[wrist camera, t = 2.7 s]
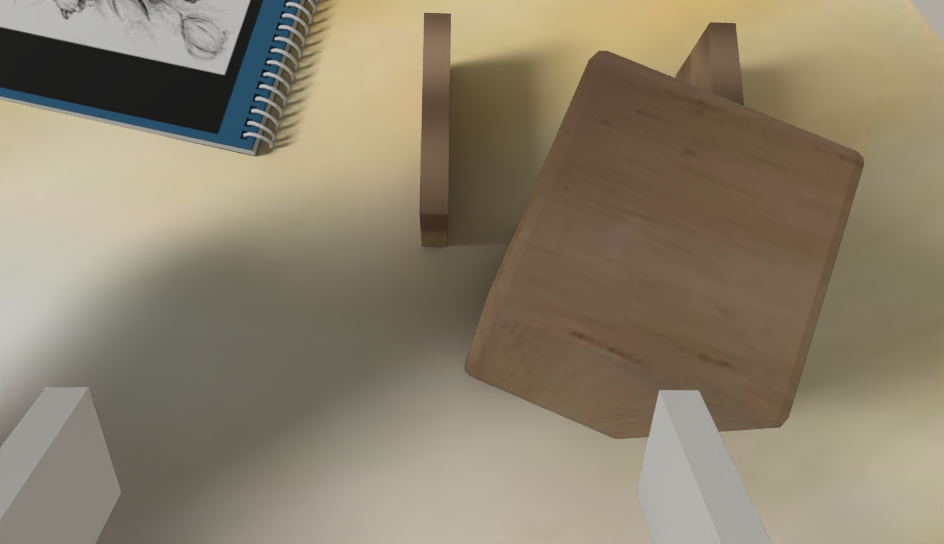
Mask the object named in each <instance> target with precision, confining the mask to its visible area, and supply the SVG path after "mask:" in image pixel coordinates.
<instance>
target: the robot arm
mask: <svg viewBox="0 0 944 544" xmlns="http://www.w3.org/2000/svg"><path fill="white" fill-rule="evenodd" d="M120 495H121V490H120V487H119V483H118V480H117V477H116V474H115V471H114V467H113V464H112V461H111V458H110V454H109V451H108V448H107V445H106V441H105V438H104V435H103V432H102V429H101V425H100V422H99V419H98V416H97V412H96V409H95V406H94V403H93V400H92V396H91V393H90V390H89V387H45V388H44V390H43V391H42V392H41V394H40V395H39V396H38V398H37V399H36V400H35V402H34V403H33V404H32V406H31V407H30V408H29V410H28V411H27V412H26V414H25V415H24V416H23V418H22V419H21V420H20V422H19V423H18V424H17V426H16V427H15V428H14V430H13V431H12V432H11V434H10V435H9V436H8V438H7V439H6V440H5V442H4V443H3V444H2V446H1V447H0V544H96V542H97V540H98V538H99V536H100V534H101V532H102V530H103V528H104V526H105V524H106V522H107V520H108V518H109V516H110V514H111V512H112V510H113V508H114V506H115V504H116V502H117V501H118V499H119V497H120ZM637 495H638V498H639V501H640V505H641V508H642V511H643V514H644V518H645V521H646V524H647V528H648V531H649V534H650V537H651V541H652V544H772V543H771V540H770V538H769V536H768V534H767V532H766V530H765V528H764V526H763V524H762V522H761V520H760V517H759V515H758V513H757V511H756V509H755V507H754V505H753V503H752V501H751V499H750V497H749V494H748V492H747V490H746V488H745V486H744V484H743V482H742V480H741V478H740V476H739V474H738V471H737V469H736V467H735V465H734V463H733V461H732V459H731V457H730V455H729V453H728V450H727V448H726V446H725V444H724V442H723V440H722V438H721V436H720V434H719V432H718V430H717V427H716V425H715V423H714V421H713V419H712V417H711V415H710V413H709V411H708V409H707V407H706V404H705V402H704V400H703V398H702V396H701V394H700V392H699V390H659V393H658V398H657V402H656V407H655V411H654V416H653V420H652V425H651V429H650V434H649V438H648V443H647V447H646V452H645V456H644V461H643V465H642V470H641V474H640V479H639V483H638V488H637Z"/></svg>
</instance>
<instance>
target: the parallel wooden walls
mask: <svg viewBox="0 0 944 544" xmlns="http://www.w3.org/2000/svg"><path fill="white" fill-rule="evenodd" d="M450 33H451V14H443V13H424V47H423V91H422V134H421V177H420V226H421V242H422V246H446V245H447V227H448V193H449V113H450ZM676 79H678V80H681V81H683V82H686V83H688V84H691V85H693V86H695V87H698V88H700V89H703V90H705V91H708V92H710V93H713V94H715V95H718V96H720V97H723V98H725V99H728V100H730V101H733V102H735V103H738V104H740V105H743V106H744V103H743V93H742V83H741V73H740V63H739V53H738V44H737V34H736V24H735V23H709V25H708V26H707V28H706V30H705V31H704V33H703V34H702V36H701V37H700V39H699V40H698V42H697V44H696V45H695V47H694V48H693V50H692V51H691V53H690V55H689V56H688V58H687V59H686V61H685V62H684V64H683V65H682V67H681V69H680V70H679V72H678V73H677V75H676Z"/></svg>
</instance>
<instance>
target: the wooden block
mask: <svg viewBox="0 0 944 544" xmlns="http://www.w3.org/2000/svg"><path fill="white" fill-rule="evenodd" d="M863 166H864V161H863V157H862V156H861V155H860V154H859V153H858V152H857V151H854V150H852V149H849V148H847V147H844V146H842V145H839V144H837V143H834V142H832V141H829V140H827V139H824V138H822V137H819V136H817V135H814V134H812V133H810V132H807V131H805V130H802V129H800V128H797V127H795V126H792V125H790V124H787V123H785V122H782V121H780V120H777V119H775V118H772V117H770V116H767V115H765V114H762V113H760V112H757V111H755V110H753V109H750V108H748V107H745V106H743V105H740V104H738V103H735V102H733V101H730V100H728V99H725V98H723V97H720V96H718V95H715V94H713V93H710V92H708V91H705V90H703V89H700V88H698V87H695V86H693V85H691V84H688V83H686V82H683V81H681V80H678V79H676V78H673V77H671V76H668V75H666V74H663V73H661V72H658V71H656V70H653V69H651V68H648V67H646V66H643V65H641V64H638V63H636V62H634V61H631V60H629V59H626V58H624V57H621V56H619V55H616V54H614V53H611V52H609V51H599V52H597V53H596V54H595V55H594V56H593V57H592V58H591V59H589V61H588V64H587V66H586V68H585V70H584V73H583V75H582V77H581V80H580V82H579V84H578V87H577V89H576V91H575V94H574V96H573V98H572V101H571V103H570V105H569V108H568V110H567V112H566V115H565V117H564V119H563V121H562V124H561V126H560V128H559V131H558V133H557V135H556V138H555V140H554V142H553V145H552V147H551V149H550V152H549V154H548V156H547V159H546V161H545V163H544V166H543V168H542V170H541V172H540V175H539V177H538V179H537V182H536V184H535V186H534V189H533V191H532V193H531V196H530V198H529V200H528V203H527V205H526V207H525V210H524V212H523V214H522V217H521V219H520V221H519V223H518V226H517V228H516V230H515V233H514V235H513V237H512V240H511V242H510V244H509V247H508V249H507V251H506V254H505V256H504V258H503V261H502V263H501V265H500V268H499V270H498V272H497V274H496V277H495V279H494V281H493V284H492V286H491V288H490V291H489V294H488V297H487V300H486V303H485V305H484V308H483V311H482V314H481V317H480V320H479V323H478V326H477V329H476V332H475V335H474V338H473V341H472V344H471V347H470V350H469V353H468V356H467V359H466V362H465V371H466V372H467V374H468V375H469V376H472V377H474V378H476V379H479V380H481V381H483V382H486V383H488V384H490V385H492V386H495V387H497V388H499V389H502V390H504V391H506V392H509V393H511V394H513V395H516V396H518V397H520V398H522V399H525V400H527V401H529V402H532V403H534V404H536V405H539V406H541V407H543V408H545V409H548V410H550V411H552V412H555V413H557V414H559V415H562V416H564V417H566V418H568V419H571V420H573V421H575V422H578V423H580V424H582V425H585V426H587V427H589V428H592V429H594V430H596V431H598V432H601V433H603V434H605V435H608V436H610V437H612V438H615V439H624V438H638V437H649V434H650V429H651V425H652V420H653V416H654V411H655V407H656V402H657V398H658V393H659V390H699V392H700V394H701V396H702V398H703V400H704V402H705V404H706V407H707V409H708V411H709V413H710V415H711V417H712V419H713V421H714V423H715V425H716V427H717V430H718V432H721V431H734V430H748V429H762V428H776V427H781V426H782V425H783V423H784V422H785V421H786V420H787V419H788V417H789V414H790V410H791V407H792V404H793V400H794V397H795V393H796V390H797V387H798V383H799V380H800V377H801V373H802V370H803V367H804V363H805V360H806V357H807V353H808V350H809V347H810V343H811V340H812V336H813V333H814V330H815V326H816V323H817V320H818V316H819V313H820V310H821V306H822V303H823V300H824V296H825V293H826V290H827V286H828V283H829V280H830V276H831V273H832V269H833V266H834V263H835V259H836V256H837V253H838V249H839V246H840V243H841V239H842V236H843V233H844V229H845V226H846V223H847V219H848V216H849V212H850V209H851V206H852V202H853V199H854V196H855V192H856V189H857V186H858V182H859V179H860V176H861V172H862V169H863Z"/></svg>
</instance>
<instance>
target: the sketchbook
mask: <svg viewBox="0 0 944 544" xmlns="http://www.w3.org/2000/svg"><path fill="white" fill-rule="evenodd" d="M305 1H306V0H0V100H3V101H8V102H12V103H17V104H21V105H26V106H30V107H35V108H39V109H44V110H48V111H53V112H57V113H62V114H66V115H71V116H75V117H80V118H85V119H89V120H94V121H98V122H103V123H107V124H112V125H116V126H121V127H126V128H130V129H135V130H140V131H144V132H149V133H153V134H158V135H162V136H167V137H171V138H175V139H180V140H184V141H189V142H193V143H198V144H202V145H207V146H211V147H216V148H220V149H225V150H229V151H234V152H238V153H243V154H247V155H252V156H256V155H257V152H258V148H259V145H260V142H261V139H263V140H264V141H266V142H268V143H269V144H270V146H269V148H270V149H271V148H273V147H274V144H273V143H274V142H275V140H276V137H275V134H274V133H273V132H272V131H271V130H270V129H269V128H267V127H265V126H266V123H267V120H268V118H270V119H271V120H272V121H273V122H274V123H275V124H276V127H275V128H274V130H279V128H280V124H279V122H278V121H277V119H276V118H275V117H273V116H271V115H270V111H271V108H272V106H274V107H275V108H276V109H277V110H278V111H279V112H280V115H279V116H278V118H280V119H281V118H282V117H283V110H282V109H281V108H280V107H279V106H278V105H277V104H276V103H274V102H273V101H274V98H275V95H276V93H277V94H278V95H280V97H281V98H282V99H283V100H284V102H283V104H282V106H286V105H287V99H286V97H285V95H284V94H283V93H282V92H281V91H279V90H277V89H278V86H279V83H280V81H281V82H283V83H284V84H285V86H286V87H287V92H286V94H290V92H291V87H290V85H289V83H288V82H287V81H286V80H284V79H283V78H282V77H281V76H282V73H283V70H284V69H285V70H286V71H287V72H289V73H290V75H291V79H290V82H293V81H294V80H295V76H294V73H293V72H292V70H291V69H290V68H288V67H287V66H286V65H285V64H286V61H287V58H288V57H289V58H290V59H291V60H292V61H293V62H294V64H295V67H294V69H293V70H294V71H296V70H297V69H298V62H297V61H296V59H295V58H294V57H293V56H292V55H291V54H289V51H290V48H291V45H292V46H293V47H295V48H296V50H297V51H298V56H297V59H300V58H301V57H302V51H301V50H300V48H299V47H298V46H297V44H295V43H294V42H293V39H294V36H295V34H296V35H298V36H299V37H300V38H301V41H302V45H301V48H303V47H305V38H304V37H303V36H302V34H301V33H300V32H298V31H297V30H296V29H297V26H298V23H299V22H300V23H301V24H302V25H303V26H304V27H305V30H306V33H305V34H304V36H308V34H309V28H308V26H307V24H306V23H305V22H304V21H303V20H301V19H300V17H301V14H302V11H304V12H305V13H306V14H307V15H308V18H309V22H308V25H311V24H312V23H313V19H312V15H311V14H314V13H315V12H316V6H315V3H318V2H319V0H315V3H314V2H313V0H308V1H309V2H310V4H311V5H312V7H313V10H312V12H311V14H310V12H309V11H308V10H307V9H305V8H304V4H305ZM264 130H265V131H267V132H268V133H269V134H270V135H271V136H272V140H270V139H268V138H267V137H265V136H263V133H264Z"/></svg>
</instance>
